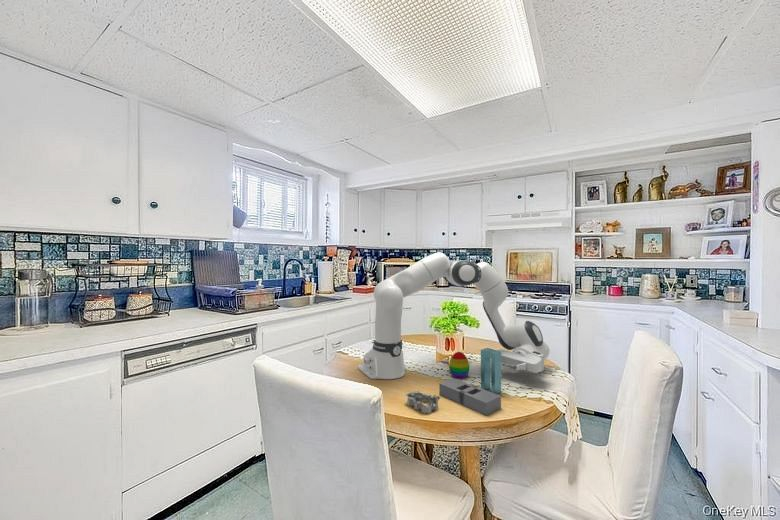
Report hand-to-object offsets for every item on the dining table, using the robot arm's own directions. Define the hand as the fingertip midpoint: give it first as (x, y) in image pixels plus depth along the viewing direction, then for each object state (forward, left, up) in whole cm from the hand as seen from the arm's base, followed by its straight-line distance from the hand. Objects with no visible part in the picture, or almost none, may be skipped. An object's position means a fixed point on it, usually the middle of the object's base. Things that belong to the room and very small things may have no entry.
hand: (504, 364), depth 127 cm
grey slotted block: (0, -22, -8) cm, 23 cm away
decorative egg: (-17, -7, -8) cm, 20 cm away
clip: (0, -9, -8) cm, 12 cm away
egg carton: (-8, -37, -8) cm, 39 cm away
